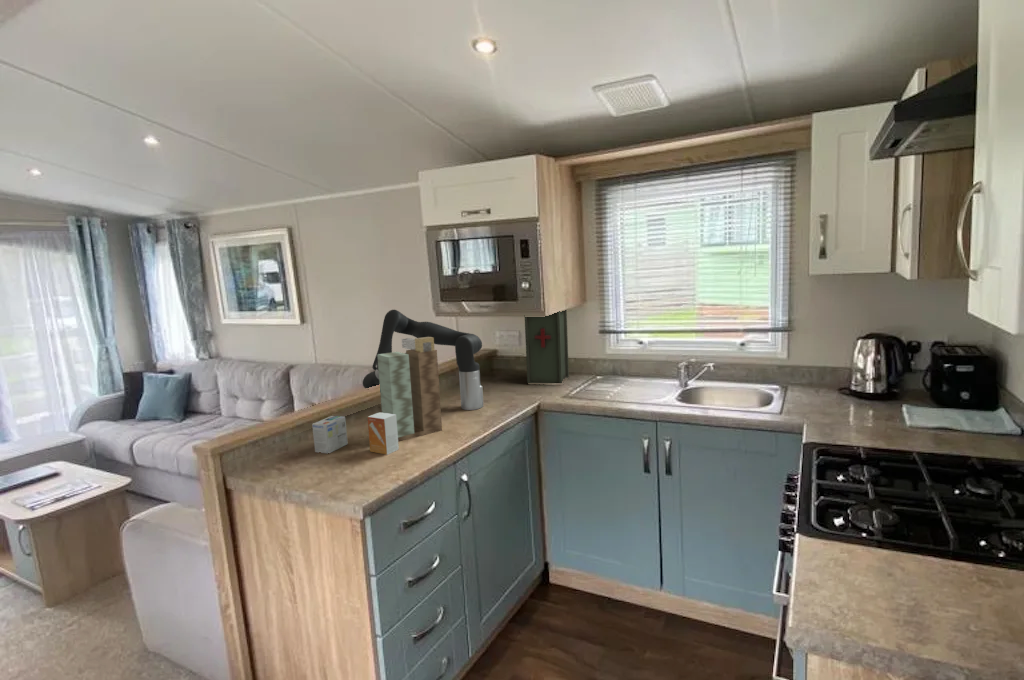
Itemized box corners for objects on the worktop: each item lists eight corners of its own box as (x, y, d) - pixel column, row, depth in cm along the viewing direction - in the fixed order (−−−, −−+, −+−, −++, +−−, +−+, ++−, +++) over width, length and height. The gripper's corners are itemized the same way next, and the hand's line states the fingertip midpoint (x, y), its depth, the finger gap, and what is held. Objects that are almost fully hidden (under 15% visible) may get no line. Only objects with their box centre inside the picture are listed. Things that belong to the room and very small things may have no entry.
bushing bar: (412, 346, 221) (411, 334, 220) (434, 350, 207) (433, 337, 206) (399, 348, 217) (398, 335, 217) (420, 352, 203) (419, 339, 202)
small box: (369, 452, 190) (366, 416, 188) (382, 446, 196) (379, 411, 194) (387, 455, 186) (384, 418, 184) (399, 449, 192) (396, 414, 190)
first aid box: (568, 378, 296) (566, 305, 291) (561, 385, 279) (559, 308, 273) (536, 377, 302) (533, 306, 296) (527, 384, 284) (524, 309, 279)
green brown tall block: (429, 425, 220) (424, 347, 215) (442, 430, 212) (436, 350, 207) (383, 436, 208) (377, 354, 203) (395, 442, 200) (388, 357, 195)
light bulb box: (334, 442, 203) (331, 415, 201) (348, 444, 200) (346, 416, 199) (314, 452, 193) (311, 423, 191) (329, 454, 190) (326, 424, 189)
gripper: (368, 364, 235) (380, 349, 222) (398, 360, 243) (411, 345, 231) (373, 380, 233) (385, 366, 220) (403, 375, 241) (416, 361, 229)
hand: (398, 355), depth 226 cm, fingers open, 8 cm apart
